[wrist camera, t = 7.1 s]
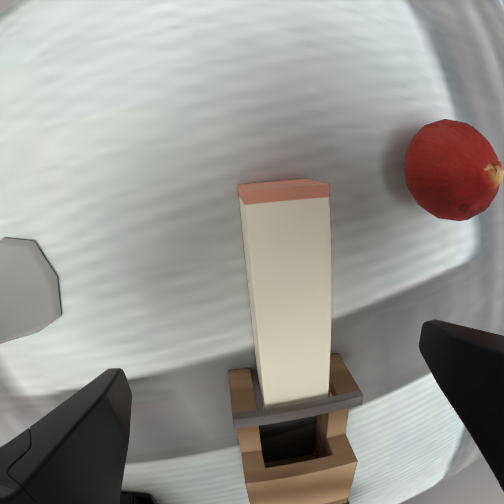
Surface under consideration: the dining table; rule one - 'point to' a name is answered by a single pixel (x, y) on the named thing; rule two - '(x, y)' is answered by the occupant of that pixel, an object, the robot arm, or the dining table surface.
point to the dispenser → (305, 467)
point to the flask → (25, 290)
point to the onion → (452, 170)
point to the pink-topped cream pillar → (289, 286)
